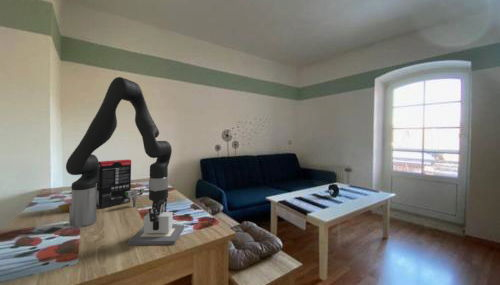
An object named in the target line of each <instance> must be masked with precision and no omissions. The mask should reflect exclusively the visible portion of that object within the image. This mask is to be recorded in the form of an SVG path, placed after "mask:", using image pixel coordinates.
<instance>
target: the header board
mask: <svg viewBox="0 0 500 285" xmlns="http://www.w3.org/2000/svg"><path fill="white" fill-rule="evenodd" d="M184 229H185V224H179V225H177V224H174V225H173V224H172V229H171V230H170V232H169V233H144V225H143V226H142V227H141V228H140V229H139V230H138V231H137V232H136V233H135V234H133V236H132V237H131V238H130V239H129V240H128V241H127V245H128V246H138V245H139V246H143V245H144V246H145V245H146V246H148V245H149V246H152V245H153V246H154V245H155V246H157V245H168V246H169V245H176V243H177V241H178V240H179V238H180V236H181V234H182V233H183V231H184Z"/></svg>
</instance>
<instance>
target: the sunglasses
mask: <svg viewBox="0 0 500 285" xmlns="http://www.w3.org/2000/svg"><path fill="white" fill-rule="evenodd" d="M70 205H72V202H71V203H70V202H69V203H63V204H59V205H58V206H57V208H58V212H59V213H69V206H70Z"/></svg>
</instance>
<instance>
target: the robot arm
mask: <svg viewBox="0 0 500 285" xmlns="http://www.w3.org/2000/svg"><path fill="white" fill-rule="evenodd" d="M145 99H146V98H145V96H144V94H143V90H142V88H141V86H140V85H139V84H138V83H137V82H135V81H132V80H130V79H127V78H124V77H121V76H119V77H115V78H114V79H113V80H112V81H111V82H110V84H109V86H108V88H107V91H106V93H105V95H104V98H103V100H102V102H101V104H100V107H99V109H98V110H97V113H96V114H95V116H94V118H93V119H92V121H91V123H89V124H90V125H89V126H88V128H87V130H86V131H85V134H84V135H83V137H82V139H81V141H80V142H79V143H78V144H77V146H76V148H75V149H74V150H73V152H72V153H71V154H70V156H68V159H67V160H66V162H65V164H66V165H65V171H66V173H68V174H69V175H71V176H80V177H79V178H78V179H77V180H75V181H73V182H72V183H71V203H72V205H70V206H69V212H68V214H69V221H68V222H69V226H70V227H73V228H81V227H87V226H90V225H93V224H94V223H96V222H97V206H96V189H97V181H98V171H99V159H98V157H97V156H96V155H95V154H93V153H94V152H95V151H96V150H97V149H99V148H100V147H102V146H103V145H104V144H106V143H107V142H108V141H109V140H110V139H111V138H112V136H113V134H114V132H115V131H116V128H117V127H118V118H117V113H116V111H117V109H118V106H119V105H120V102H121V101H127V102H129V103H131V105H132V106H133V109H134V111H135V115H134V123H135V126H136V127H137V128H136V129H137V130H138V132H139V134H140V135H141V138H142V142H143V149H144V152H145V154H146V155H147V156H148V158H150V159H151V158H152V159H156V161H155V162H153V163H151V164H150V165H149V181H148V199H149V201H152V204H151V205H152V206H151V208H149V209H148V213H149V217H150V222H153V230H158V229H159V216H160V215H161V212H167V204H168V198H169V176H168V172H169V171H168V168H169V164H170V160H171V157H172V151H173V150H172V146H171V143H170V142H168V141H167V140H157V139H156V138H158V137H159V135H160V131H159V129H158V126H157V124H156V123H155V122H154V120H153V117H152V115H151V114H150V111H149V108H148V105H147V102H146V100H145ZM157 212H159V213H157ZM154 217H155V218H154Z"/></svg>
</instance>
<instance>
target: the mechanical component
mask: <svg viewBox="0 0 500 285" xmlns="http://www.w3.org/2000/svg"><path fill="white" fill-rule="evenodd" d="M143 194H144V188H140V189H139V191H138V189H131V190H130V191H126V192H125V195H126V197H128V198H130V199H131V200H132V207H133V208H136V207H137V200H138V197H140V196H142V195H143Z"/></svg>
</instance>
